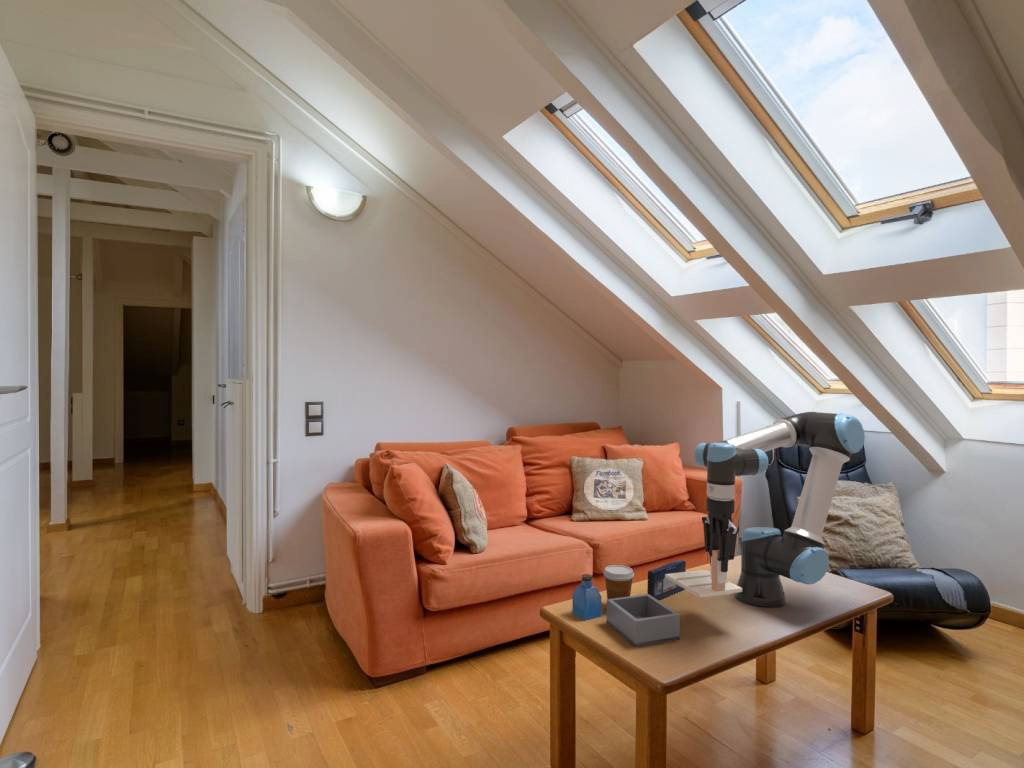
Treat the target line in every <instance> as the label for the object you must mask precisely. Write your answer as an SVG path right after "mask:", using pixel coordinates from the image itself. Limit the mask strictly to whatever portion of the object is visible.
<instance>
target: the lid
mask: <svg viewBox="0 0 1024 768" xmlns="http://www.w3.org/2000/svg"><path fill="white" fill-rule="evenodd" d="M717 558H720V556H719V550H712V580H711V571H708V570H707V569H700V570H691V571H686V572H680V573H671V574H665V578H667V579H668V580H670V581H672V582H674V583H675V584H677V585H679V586H681V587H682V588H684V589H685V590H686V591H688V592H689V593H691V594H693V595H694V596H696V597H698V598H701V599H702V598H708V597H718V596H726V595H730V594H731V595H732V594H735V593H737V592H742V588H741V587H739V586H737V584H735V583H733V582H731V581H729V580H727V583H717V560H718V559H717Z"/></svg>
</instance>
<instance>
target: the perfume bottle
mask: <svg viewBox="0 0 1024 768" xmlns="http://www.w3.org/2000/svg"><path fill="white" fill-rule="evenodd" d="M581 577H582V578H581V584H580V585H577V586H576V587H575V589H574V590H573V591H572V608H571V609H572V613H571V614H573V613H574V614H575V615H574V614H573V615H574V616H576V615H577V616H576V617H577V618H579V617H580V618H579V619H580V620H582V619H583V620H582V621H584V620H585V621H584V622H586V620H587V621H589V620H594V619H598V618H602V595H601V593H600V592H599V589H598V588H597V587H596V586H594V585H593V584H594V579H593V575H592V574H588V573H584V574H582V575H581ZM597 617H598V618H597Z"/></svg>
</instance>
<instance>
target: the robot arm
mask: <svg viewBox="0 0 1024 768" xmlns="http://www.w3.org/2000/svg"><path fill="white" fill-rule="evenodd" d="M863 427H864V426H863V424H862V423H861V421H860V420H859V419H858V418H857V417H856V416H854V415H850V414H844V413H843V412H842V413H841V412H840V413H832V412H817V411H805V412H800V413H796V414H792V415H788V416H786V417H782V418H779V419H776V420H775V421H773V422H772V424H770V425H767V426H765V427H764V426H763V427H761V428H759V429H755V430H752V431H749V432H746V433H743V434H740V435H736V436H734V437H731V438H728V439H724V440H721V441H717V442H701V443H699V444H698V445H697V446H696V447H695V449H694V452H693V454H694V456H693V457H694V460H695V463H697V465H698V466H701V467H704V468H706V469H707V470H706V496H707V498H706V502H705V506H706V507H705V508H706V511H707V512H708V514H707V516H702V517H701V520H702V524H703V537H704V539H703V540H704V551H705V552H706V553H708V554H709V557H710V558H709V565H710V572H711V580H712V550H719V556H720V558H717V559H718V560H717V583H727V581H728V579H727V578H728V571H729V561H733V560H734V559H735V555H736V546H737V538H738V533H739V531H740V527H739V526H737V525H736V526H735V525H734V524H733V522H734V521H733V518H732V515H733V514H734V513H735V503H736V502H735V500H734V499H735V498H736V477H741V476H742V477H743V476H757V475H762V474H764V473H766V471H767V470H768V467H769V457H768V455H767V453H766V452H770V451H771V450H775V449H778V448H781V447H782V448H791V447H793V446H794V447H795V446H797V447H798V446H800V447H808V449H809V451H810V453H811V455H812V456H811V460H810V463H809V466H808V470H807V474H806V475H805V476H806V477H805V480H804V483H803V486H802V490H801V493H800V496H799V500H798V504H797V507H796V510H795V514H794V517H793V521H792V523H791V526H790V527H788V528H787V529H784V530H783V535H782V533H781V530H780V529H779V528H776V527H769V526H754V527H747V528H745V529H743V530H742V533H741V540H740V545H741V546H740V548H741V549H740V550H741V551H740V553H741V554H740V556H741V558H740V559H741V560H740V562H741V563H740V565H741V568H740V569H741V570H740V574H739V578H738V580H737V581H738V582H737V584H736V585H737V586H739V587H741V588H742V592H737V593H734V594H735V597H736V598H737V599H738V600H739V601H741V602H742V603H746V604H748V605H751V606H752V605H753V606H756V607H763V608H777V607H781V606H784V604H785V603H786V593H785V591H784V588H783V585H782V581H781V577H780V576H782V577H784V578H787V579H789V580H792V581H794V582H796V583H801V584H804V585H814V584H815V585H816V583H818V582H820V581H821V580H822V579H823V578H824V577H825V575H826V573H827V572H828V570H829V567H830V566H829V565H830V560H829V559H830V555H829V553H828V552H827V550H825V547H826V543H825V541H824V540H823V538H822V536H823V532H824V530H825V529H824V528H825V526H826V522H827V519H828V515H829V513H830V510H831V509H830V508H831V505H832V501H833V498H834V495H835V491H836V488H837V485H838V481H839V477H840V473H841V471H842V467H843V464H845V463H847V462H849V461H850V460H851V456H852V454H856V453H859V452H860V451H861V450H863V446H864V444H865V436H866V435H865V429H864V428H863ZM781 535H782V536H781Z"/></svg>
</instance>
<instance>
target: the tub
mask: <svg viewBox="0 0 1024 768" xmlns="http://www.w3.org/2000/svg"><path fill="white" fill-rule="evenodd" d="M606 624H607V625H609V626H610V627H611V628H612V629H613V630H614V631H615V632H616V633H618V634H619V635H620V636H621V637H623V638H624V639H625V640H626V641H627V642H629V643H630V645H632V646H633V647H635V648H638V647H644V646H645V647H646V646H650V645H657V644H662V643H668V642H674V641H680V639H681V638H680V637H681V636H680V634H681V631H680V630H681V627H680V626H681V625H680V624H681V614H680V613H678V612H676V611H675V610H673V609H672V608H670V607H669V606H667V605H666V604H664V603H663V602H662V601H661V600H660V601H658V600H657V599H655V598H654V597H652V596H651V595H649V594H647V593H644V594H639V595H638V594H637V595H630V596H628V597H621V598H613V599H606Z"/></svg>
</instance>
